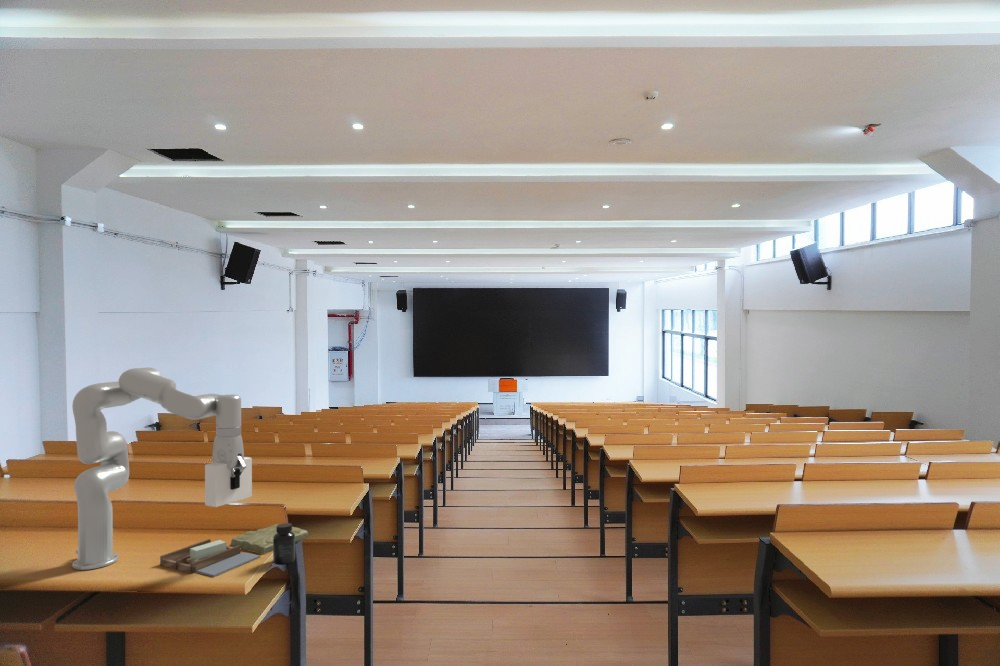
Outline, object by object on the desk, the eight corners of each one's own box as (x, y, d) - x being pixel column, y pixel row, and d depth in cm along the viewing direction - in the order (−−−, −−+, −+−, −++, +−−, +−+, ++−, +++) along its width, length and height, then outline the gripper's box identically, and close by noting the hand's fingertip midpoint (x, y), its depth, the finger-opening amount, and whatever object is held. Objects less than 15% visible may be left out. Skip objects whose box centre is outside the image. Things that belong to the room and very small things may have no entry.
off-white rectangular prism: (205, 505, 188) (205, 464, 188) (241, 494, 201) (241, 456, 201) (215, 507, 186) (215, 466, 186) (251, 496, 198) (251, 457, 198)
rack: (160, 565, 193) (160, 556, 193) (208, 547, 209) (208, 539, 209) (192, 573, 186) (192, 564, 186) (240, 554, 202) (240, 545, 202)
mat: (196, 572, 187) (196, 570, 187) (243, 553, 203) (243, 552, 203) (213, 577, 183) (213, 575, 183) (260, 557, 199) (260, 555, 199)
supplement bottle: (275, 558, 198) (275, 522, 198) (296, 556, 200) (296, 521, 200) (271, 566, 192) (271, 529, 192) (293, 564, 193) (293, 527, 193)
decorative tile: (308, 538, 220) (308, 528, 220) (264, 556, 202) (264, 545, 202) (273, 530, 229) (273, 521, 229) (228, 547, 211) (228, 537, 211)
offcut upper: (190, 557, 193) (190, 548, 193) (219, 548, 201) (219, 539, 201) (196, 560, 190) (196, 551, 190) (226, 551, 198) (226, 542, 198)
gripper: (201, 432, 194) (201, 487, 193) (237, 435, 186) (237, 493, 186) (220, 429, 200) (221, 482, 200) (256, 432, 193) (256, 487, 193)
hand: (229, 487), depth 193 cm, fingers closed on off-white rectangular prism, 4 cm apart
